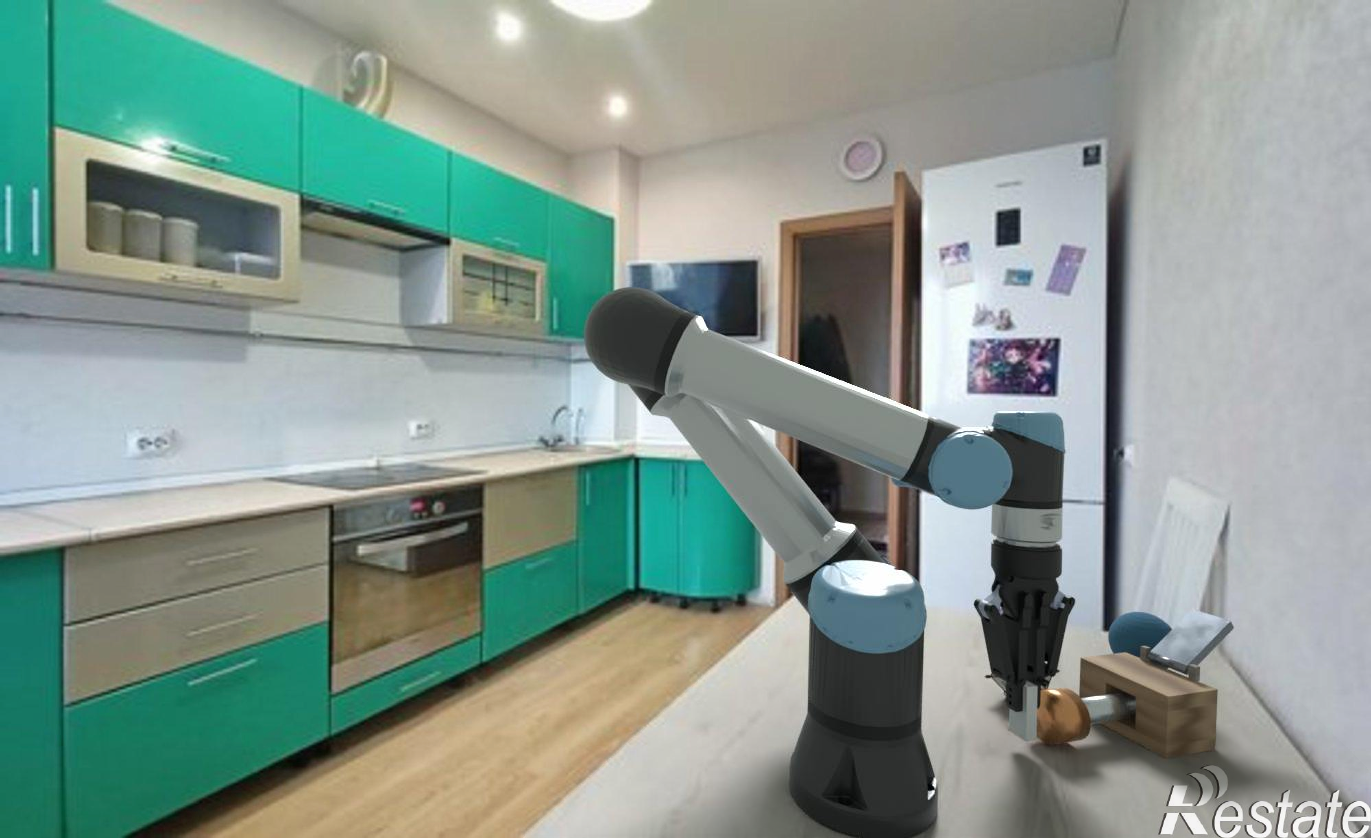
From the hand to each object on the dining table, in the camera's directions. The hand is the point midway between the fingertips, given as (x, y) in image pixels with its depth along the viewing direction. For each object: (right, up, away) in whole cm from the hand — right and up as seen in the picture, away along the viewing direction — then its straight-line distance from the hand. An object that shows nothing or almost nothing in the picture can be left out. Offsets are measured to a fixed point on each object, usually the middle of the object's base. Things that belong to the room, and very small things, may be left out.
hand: (1022, 735), depth 78 cm
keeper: (+26, +8, +8) cm, 29 cm away
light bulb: (+25, -2, +16) cm, 30 cm away
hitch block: (+19, -2, +6) cm, 20 cm away
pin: (+11, -1, +3) cm, 11 cm away
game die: (+7, -2, +13) cm, 15 cm away
